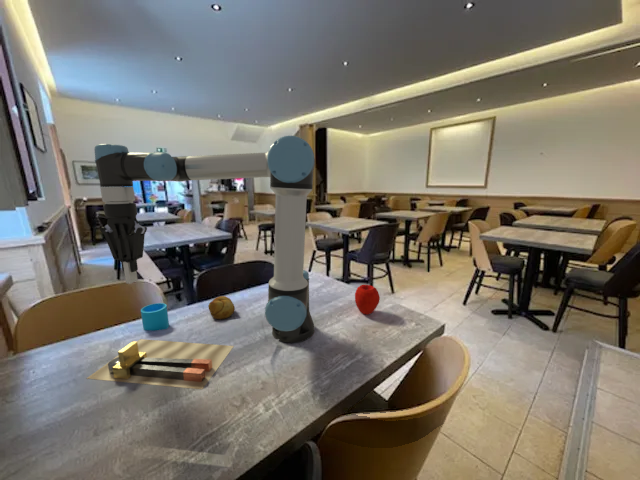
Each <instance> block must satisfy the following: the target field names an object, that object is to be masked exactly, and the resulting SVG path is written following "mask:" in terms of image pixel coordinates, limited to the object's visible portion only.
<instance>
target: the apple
mask: <svg viewBox="0 0 640 480" xmlns="http://www.w3.org/2000/svg"><path fill="white" fill-rule="evenodd" d="M380 299H381V297H380V294H379V291H378V289H377V288H376V287H375V286H373V285H370V284H361V285H359V286H358V287H357V288H356V290H355V293H354V302H355V305H356V307H357V310H358V311H359V312H360V313H361V314H362V315H367V316H368V315H371V314H372V313H374V311H375V310H376V308H378V305H379V304H380V301H381V300H380Z"/></svg>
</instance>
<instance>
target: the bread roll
mask: <svg viewBox="0 0 640 480" xmlns="http://www.w3.org/2000/svg"><path fill="white" fill-rule="evenodd" d="M208 310H209V313H210V315H211V317H212V318H213V319H215V320H223V319H227V318H230V317H231V316H232V315H233V314H234V313H235V310H236V307H235V304H234V302H233V301H232V299H231V298H230V297H228V296H226V295H220V296H217V297H215V298H214V299H212V300H211V301H210V302H209V303H208Z"/></svg>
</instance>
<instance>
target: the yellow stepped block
mask: <svg viewBox="0 0 640 480" xmlns="http://www.w3.org/2000/svg"><path fill="white" fill-rule="evenodd" d="M118 355H119V361H120V362H119V363H118V364H116V365H115V366H114V367H112V369H113V374H114V378H122V379H128V378H129V377H131V376H130V369H129V368H130V367H131V366H133V365H134V364H135V363H136V362H138V361H139V360H140V359H141V358H142V357H145V358H147V355H146V352H139V350H138V344H137V341H131V342H130V343H128V344H127V345H126V346H124V347H123V348H121V349H120V350H118V351H117V356H118Z"/></svg>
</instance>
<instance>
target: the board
mask: <svg viewBox="0 0 640 480" xmlns="http://www.w3.org/2000/svg"><path fill="white" fill-rule="evenodd" d="M136 342H137V344H138V350H139V352H146V355H147V358H171V359H211V360H212V368H211V370H210V371H209V372H207V371H205V379H204V380H203V381H202V382H195V381H184V380H176V379H165V378H154V377H143V376H132V375H130V376H131V377H129V378H128V379H122V378H114V374H110V373H109V368H108V363H109V362H110V361H107V363H106V364H104V365H103V366H102V367H100V368H99V369H97V370H96V371H95V372H94V373H91V374H90V375H89V376H88V377H86V379H87V380H97V381H108V382H117V383H118V382H119V383H129V384H140V385H151V386H162V387H163V386H164V387H171V388H183V389H194V390H203V389H204V388H205V387H206V385H207V384H208V383H209V381H210V380H211V378H212V377H213V376H214V374H215V373H216V372H217V370H218V368H219V367H221V364H223V362H224V361H225V359H226V358H227V357H228V355H229V353H230V352H231V351H232V350H233V348H234V347H235V346H234V345H225V344H213V343H201V342H200V343H198V342H195V343H194V342H185V341H170V340H158V339H157V340H156V339H142V338H140V339H139V340H136ZM118 357H119V355H118V354H117V355H116V356H115V357H114V358H112V359H111V360H113V359H115V358H118Z"/></svg>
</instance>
